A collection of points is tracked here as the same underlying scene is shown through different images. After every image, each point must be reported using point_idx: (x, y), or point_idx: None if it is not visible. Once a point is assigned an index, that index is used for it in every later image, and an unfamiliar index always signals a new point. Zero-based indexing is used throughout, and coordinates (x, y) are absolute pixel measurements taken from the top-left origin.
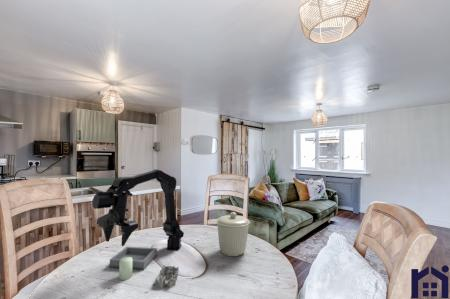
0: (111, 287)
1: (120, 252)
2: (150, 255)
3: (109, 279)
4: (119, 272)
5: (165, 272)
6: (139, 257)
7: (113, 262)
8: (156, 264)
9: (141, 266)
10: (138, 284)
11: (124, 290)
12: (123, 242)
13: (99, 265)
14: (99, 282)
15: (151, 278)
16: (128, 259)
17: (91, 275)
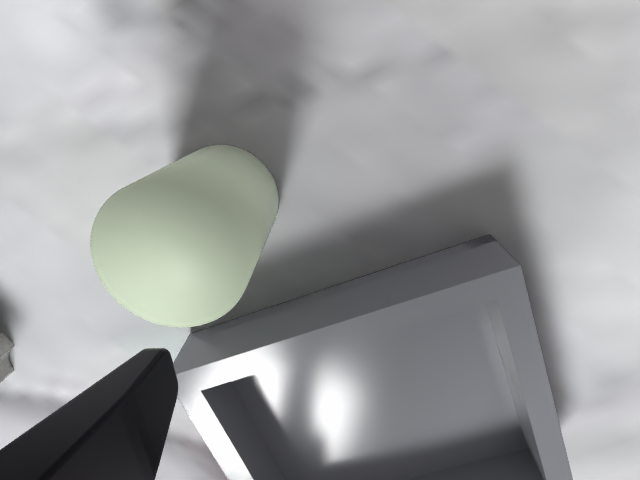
0: (175, 17)
1: (539, 407)
2: (228, 475)
3: (311, 98)
4: (227, 158)
5: (6, 371)
6: (364, 438)
7: (467, 266)
8: (178, 424)
9: (200, 343)
10: (31, 169)
11: (38, 47)
12: (72, 416)
13: (616, 215)
14: (350, 14)
15: (30, 276)
16: (154, 276)
17: (536, 56)
